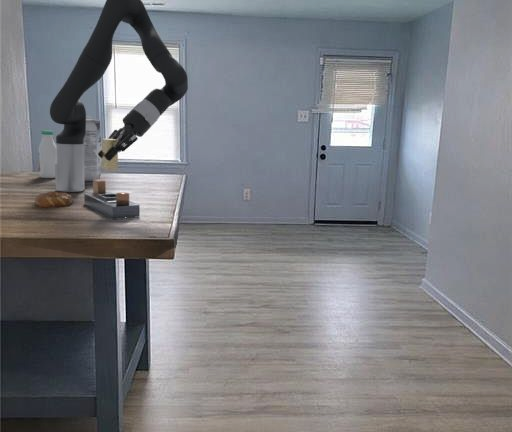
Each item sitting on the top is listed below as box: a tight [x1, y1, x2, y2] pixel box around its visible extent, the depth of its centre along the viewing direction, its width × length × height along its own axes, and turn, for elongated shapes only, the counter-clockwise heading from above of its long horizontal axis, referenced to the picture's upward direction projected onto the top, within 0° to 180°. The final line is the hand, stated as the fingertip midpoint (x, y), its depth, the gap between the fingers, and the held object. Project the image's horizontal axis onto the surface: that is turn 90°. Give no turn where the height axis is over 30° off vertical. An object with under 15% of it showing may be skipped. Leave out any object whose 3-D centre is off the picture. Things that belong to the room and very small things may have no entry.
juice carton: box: [83, 115, 102, 182], centre depth 195 cm, size 9×10×27 cm
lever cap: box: [101, 138, 119, 172], centre depth 137 cm, size 4×4×9 cm
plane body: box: [83, 178, 141, 220], centre depth 140 cm, size 24×8×8 cm, turn 38°
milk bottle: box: [37, 130, 57, 179], centre depth 197 cm, size 8×8×20 cm
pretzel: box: [34, 191, 74, 208], centre depth 145 cm, size 12×11×4 cm
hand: (103, 157), depth 136 cm, fingers closed on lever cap, 4 cm apart
